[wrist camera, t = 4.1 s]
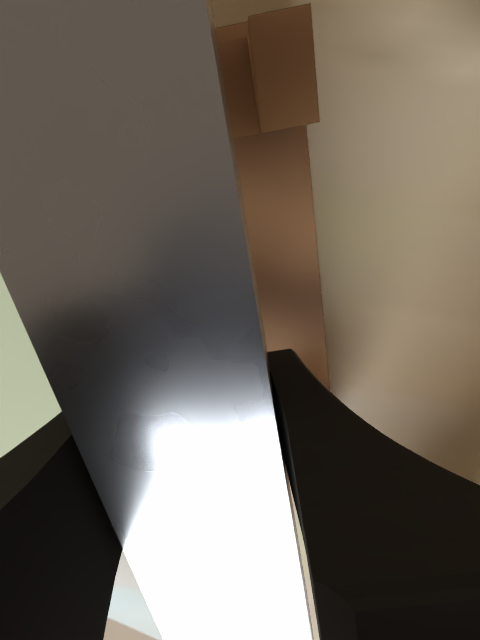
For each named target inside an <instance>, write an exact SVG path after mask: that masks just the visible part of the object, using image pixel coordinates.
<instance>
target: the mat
mask: <svg viewBox="0 0 480 640" xmlns="http://www.w3.org/2000/svg"><path fill="white" fill-rule="evenodd" d="M60 412H61V408H60V406H59V404H58V402H57V399H56V397H55V395H54V393H53V390H52V388H51V386H50V384H49V381H48V379H47V377H46V375H45V372H44V370H43V368H42V365H41V363H40V361H39V359H38V356H37V354H36V352H35V350H34V347H33V345H32V343H31V341H30V338H29V336H28V334H27V332H26V329H25V327H24V325H23V323H22V320H21V318H20V316H19V314H18V311H17V309H16V307H15V305H14V302H13V300H12V298H11V296H10V293H9V291H8V289H7V287H6V284H5V282H4V280H3V278H2V275H1V273H0V458H1V457H2V456H4V455H5V454H6V453H8V452H9V451H11V450H12V449H13V448H15V447H16V446H17V445H19V444H20V443H21V442H23V441H24V440H25V439H27V438H28V437H29V436H31V435H32V434H33V433H35V432H36V431H37V430H39V429H40V428H41V427H43V426H44V425H45V424H47V423H48V422H49V421H50V420H52V419H53V418H54V417H55V416H57V415H58V414H59V413H60Z"/></svg>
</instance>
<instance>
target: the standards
mask: <svg viewBox="0 0 480 640" xmlns="http://www.w3.org/2000/svg"><path fill="white" fill-rule="evenodd" d="M215 30H216V36H217V42H218V48H219V54H220V61H221V67H222V73H223V79H224V85H225V91H226V97H227V104H228V110H229V116H230V122H231V128H232V134H233V141H234V147H235V153H236V159H237V165H238V171H239V178H240V184H241V190H242V196H243V202H244V208H245V214H246V221H247V227H248V233H249V239H250V245H251V251H252V258H253V264H254V270H255V276H256V282H257V288H258V295H259V301H260V307H261V313H262V319H263V325H264V331H265V338H266V344H267V350H268V352H270V351H277V350H284V349H290V348H291V349H292V350H294V351H295V352H296V354H297V355H298V356H299V358H300V359H301V361H302V362H303V363H304V364H305V366H306V367H307V368H308V369H309V370H310V371H311V373H312V374H313V375H314V376H315V377H316V378H317V379H318V380H319V381H320V382H321V383H322V384H323V385H324V386H325V387H326V388H327V389H328V390H329V391H330V386H329V375H328V364H327V353H326V342H325V330H324V319H323V308H322V297H321V286H320V275H319V264H318V253H317V241H316V230H315V219H314V208H313V197H312V186H311V175H310V163H309V152H308V141H307V130H306V125H307V124H312V123H317V122H320V121H319V107H318V94H317V81H316V68H315V55H314V42H313V29H312V16H311V3H309V4H305V5H300V6H295V7H290V8H285V9H281V10H276V11H271V12H266V13H262V14H257V15H252V16H249V17H248V22H243V23H238V24H233V25H229V26H224V27H219V28H215ZM288 479H289V478H288Z"/></svg>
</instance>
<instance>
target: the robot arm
mask: <svg viewBox="0 0 480 640" xmlns="http://www.w3.org/2000/svg"><path fill="white" fill-rule="evenodd" d="M268 362H269V370H270V376H271V382H272V388H273V394H274V400H275V406H276V413H277V419H278V425H279V431H280V437H281V443H282V449H283V455H284V461H285V465H286V470H287V474H288V478H289V482H290V486H291V490H292V494H293V498H294V502H295V506H296V510H297V514H298V518H299V523H300V527H301V531H302V535H303V540H304V545H305V550H306V554H307V561H308V567H309V573H310V580H311V586H312V593H313V599H314V605H315V612H316V618H317V624H318V631H319V637H320V640H480V485H477V484H475V483H473V482H471V481H469V480H467V479H465V478H463V477H460V476H458V475H456V474H454V473H452V472H450V471H448V470H446V469H444V468H442V467H440V466H438V465H436V464H434V463H432V462H430V461H428V460H426V459H425V458H423V457H421V456H419V455H418V454H416V453H414V452H412V451H411V450H409V449H407V448H405V447H404V446H402V445H400V444H398V443H397V442H395V441H393V440H392V439H390V438H389V437H387V436H385V435H384V434H382V433H381V432H380V431H378V430H377V429H375V428H374V427H373V426H371V425H370V424H368V423H367V422H366V421H364V420H363V419H362V418H360V417H359V416H358V415H357V414H355V413H354V412H353V411H352V410H350V409H349V408H348V407H347V406H346V405H344V404H343V403H342V402H341V401H340V400H339V399H338V398H336V397H335V396H334V395H333V394H332V393H331V392H330V391H329V390H328V389H327V388H326V387H325V386H324V385H323V384H322V383H321V382H320V381H319V380H318V379H317V378H316V377H315V376H314V375H313V374H312V373H311V371H310V370H309V369H308V368H307V367H306V366H305V364H304V363H303V362H302V361H301V359H300V358H299V356H298V355H297V354H296V352H295V351H294V350H292V349H291V348H290V349H284V350H277V351H270V352H268ZM122 550H123V548H122V546H121V544H120V541H119V539H118V537H117V535H116V532H115V530H114V528H113V526H112V523H111V521H110V519H109V517H108V514H107V512H106V510H105V508H104V505H103V503H102V501H101V499H100V496H99V494H98V492H97V490H96V487H95V485H94V483H93V481H92V478H91V476H90V474H89V472H88V469H87V467H86V465H85V462H84V460H83V458H82V456H81V453H80V451H79V449H78V447H77V444H76V442H75V440H74V438H73V435H72V433H71V431H70V429H69V426H68V424H67V422H66V420H65V417H64V415H63V413H62V411H61V412H60V413H59V414H58V415H57V416H55V417H54V418H53V419H52V420H50V421H49V422H48V423H47V424H45V425H44V426H43V427H41V428H40V429H39V430H37V431H36V432H35V433H33V434H32V435H31V436H29V437H28V438H27V439H25V440H24V441H23V442H21V443H20V444H19V445H17V446H16V447H15V448H13V449H12V450H11V451H9V452H8V453H6V454H5V455H4V456H2V457H1V458H0V640H103V638H104V632H105V626H106V621H107V616H108V611H109V606H110V601H111V596H112V591H113V586H114V581H115V576H116V572H117V568H118V564H119V560H120V556H121V553H122Z"/></svg>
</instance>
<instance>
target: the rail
mask: <svg viewBox="0 0 480 640" xmlns="http://www.w3.org/2000/svg"><path fill="white" fill-rule="evenodd" d="M0 273H1V275H2V278H3V280H4V282H5V284H6V287H7V289H8V291H9V293H10V296H11V298H12V300H13V302H14V305H15V307H16V309H17V311H18V314H19V316H20V318H21V320H22V323H23V325H24V327H25V329H26V332H27V334H28V336H29V338H30V341H31V343H32V345H33V347H34V350H35V352H36V354H37V356H38V359H39V361H40V363H41V365H42V368H43V370H44V372H45V375H46V377H47V379H48V381H49V384H50V386H51V388H52V390H53V393H54V395H55V397H56V399H57V402H58V404H59V406H60V408H61V411H62V413H63V415H64V417H65V420H66V422H67V424H68V426H69V429H70V431H71V433H72V435H73V438H74V440H75V442H76V444H77V447H78V449H79V451H80V453H81V456H82V458H83V460H84V462H85V465H86V467H87V469H88V472H89V474H90V476H91V478H92V481H93V483H94V485H95V487H96V490H97V492H98V494H99V496H100V499H101V501H102V503H103V505H104V508H105V510H106V512H107V514H108V517H109V519H110V521H111V523H112V526H113V528H114V530H115V532H116V535H117V537H118V539H119V541H120V544H121V546H122V548H123V550H124V553H125V555H126V557H127V559H128V562H129V564H130V566H131V568H132V571H133V573H134V575H135V578H136V580H137V582H138V584H139V587H140V589H141V591H142V593H143V596H144V598H145V600H146V602H147V605H148V607H149V609H150V611H151V614H152V616H153V618H154V620H155V623H156V625H157V627H158V629H159V632H160V634H161V636H162V638H163V640H314V638H313V631H312V625H311V618H310V611H309V604H308V597H307V591H306V584H305V578H304V572H303V566H302V559H301V553H300V547H299V541H298V535H297V529H296V522H295V516H294V510H293V504H292V498H291V492H290V485H289V479H288V474H287V470H286V465H285V461H284V455H283V449H282V443H281V437H280V431H279V425H278V419H277V413H276V406H275V400H274V394H273V388H272V382H271V376H270V370H269V362H268V350H267V344H266V338H265V331H264V325H263V319H262V313H261V307H260V301H259V295H258V288H257V282H256V276H255V270H254V264H253V258H252V251H251V245H250V239H249V233H248V227H247V221H246V214H245V208H244V202H243V196H242V190H241V184H240V178H239V171H238V165H237V159H236V153H235V147H234V141H233V134H232V128H231V122H230V116H229V110H228V104H227V97H226V91H225V85H224V79H223V73H222V67H221V61H220V54H219V48H218V42H217V36H216V30H215V24H214V17H213V11H212V5H211V0H0Z"/></svg>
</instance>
